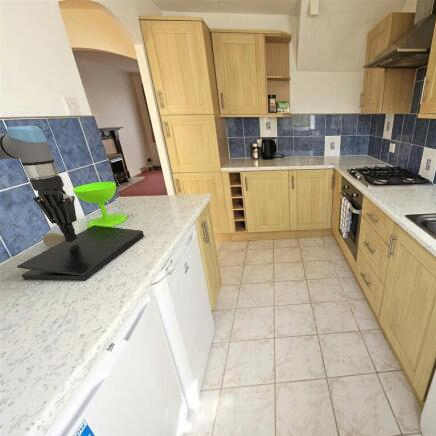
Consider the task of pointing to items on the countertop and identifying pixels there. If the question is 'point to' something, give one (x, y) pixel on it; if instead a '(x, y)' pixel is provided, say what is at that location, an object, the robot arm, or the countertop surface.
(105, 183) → the wineglass
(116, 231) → the laptop screen
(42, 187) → the robot arm
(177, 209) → the countertop surface
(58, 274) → the laptop
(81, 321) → the countertop surface
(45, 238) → the ceramic mug
